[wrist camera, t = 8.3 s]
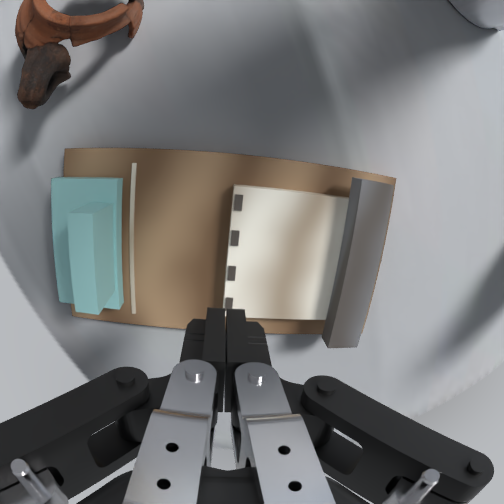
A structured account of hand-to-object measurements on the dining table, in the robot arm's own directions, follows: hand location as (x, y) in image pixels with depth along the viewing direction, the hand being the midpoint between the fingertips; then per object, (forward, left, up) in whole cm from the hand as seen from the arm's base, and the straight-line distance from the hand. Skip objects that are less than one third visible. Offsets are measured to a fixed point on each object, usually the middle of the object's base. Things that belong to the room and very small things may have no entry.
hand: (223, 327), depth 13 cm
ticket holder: (0, 0, -11) cm, 11 cm away
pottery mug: (+12, -15, -11) cm, 23 cm away
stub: (+10, 0, -9) cm, 13 cm away
